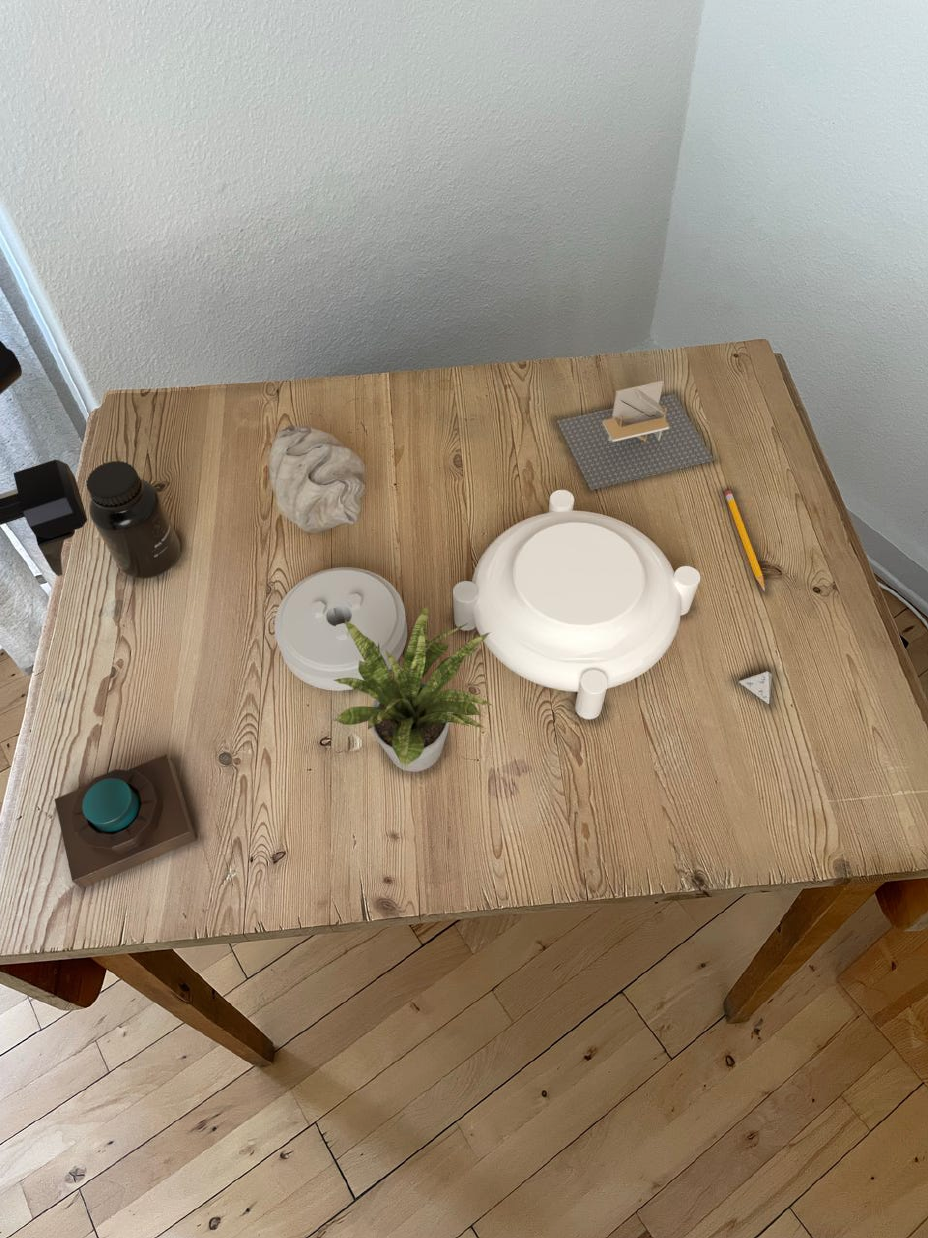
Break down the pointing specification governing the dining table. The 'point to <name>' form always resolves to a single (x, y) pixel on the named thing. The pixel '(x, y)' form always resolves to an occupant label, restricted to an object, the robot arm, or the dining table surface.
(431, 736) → the house plant
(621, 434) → the napkin holder
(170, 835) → the button housing
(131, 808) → the press top
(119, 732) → the dining table surface
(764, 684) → the tetrahedral die
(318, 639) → the lid
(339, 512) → the seashell
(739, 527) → the pencil
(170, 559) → the supplement bottle
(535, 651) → the round stand with pegs
